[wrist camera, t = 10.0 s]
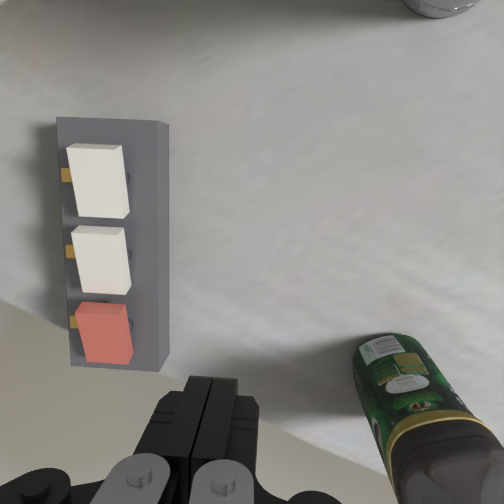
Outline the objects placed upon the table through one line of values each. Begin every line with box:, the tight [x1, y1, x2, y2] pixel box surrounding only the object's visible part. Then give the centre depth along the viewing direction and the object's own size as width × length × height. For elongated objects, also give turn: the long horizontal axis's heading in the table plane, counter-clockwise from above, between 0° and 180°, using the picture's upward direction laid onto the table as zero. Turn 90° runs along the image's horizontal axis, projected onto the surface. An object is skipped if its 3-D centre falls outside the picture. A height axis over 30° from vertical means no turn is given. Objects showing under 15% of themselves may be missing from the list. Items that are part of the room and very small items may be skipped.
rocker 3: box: [75, 302, 133, 365], centre depth 38 cm, size 6×4×2 cm, turn 178°
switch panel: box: [56, 117, 169, 372], centre depth 39 cm, size 24×9×5 cm, turn 177°
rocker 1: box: [66, 143, 130, 219], centre depth 35 cm, size 6×4×2 cm, turn 178°
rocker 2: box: [71, 225, 131, 295], centre depth 36 cm, size 6×4×2 cm, turn 178°
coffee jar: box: [353, 335, 504, 504], centre depth 34 cm, size 10×8×19 cm
